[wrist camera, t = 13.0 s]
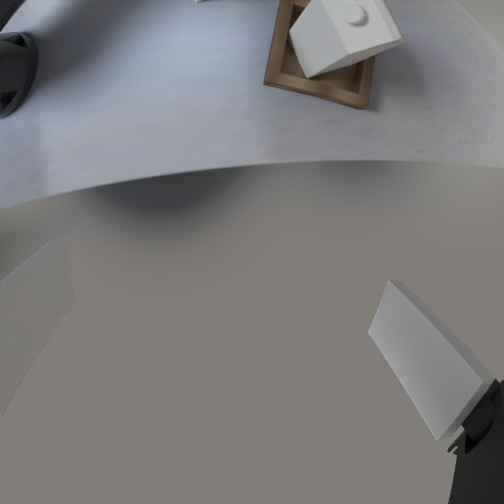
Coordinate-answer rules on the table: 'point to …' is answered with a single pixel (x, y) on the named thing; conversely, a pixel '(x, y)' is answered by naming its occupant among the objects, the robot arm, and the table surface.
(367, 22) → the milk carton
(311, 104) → the table surface
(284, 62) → the square wooden tray
